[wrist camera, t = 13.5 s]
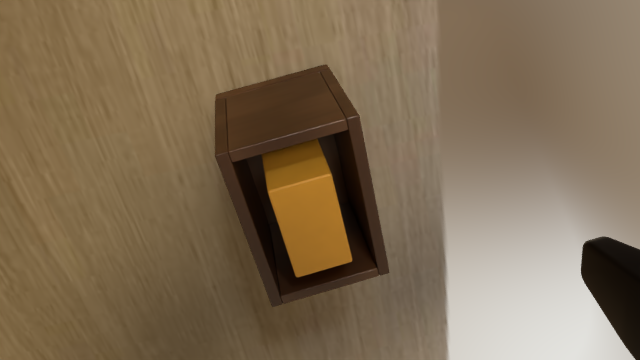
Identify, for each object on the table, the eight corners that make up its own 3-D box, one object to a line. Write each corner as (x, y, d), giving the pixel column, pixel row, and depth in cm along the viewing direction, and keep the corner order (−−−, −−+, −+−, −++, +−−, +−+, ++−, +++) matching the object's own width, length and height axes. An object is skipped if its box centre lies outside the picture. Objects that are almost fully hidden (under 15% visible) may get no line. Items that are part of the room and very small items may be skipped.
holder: (327, 63, 19) (359, 114, 15) (356, 198, 23) (390, 273, 18) (215, 94, 19) (214, 155, 15) (261, 226, 22) (272, 307, 18)
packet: (306, 110, 19) (331, 173, 15) (325, 187, 21) (353, 262, 17) (255, 124, 19) (267, 191, 15) (279, 200, 21) (296, 279, 17)
